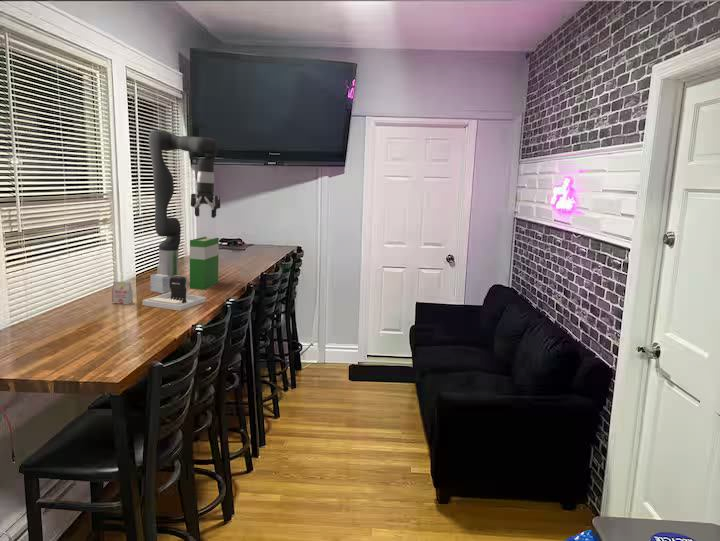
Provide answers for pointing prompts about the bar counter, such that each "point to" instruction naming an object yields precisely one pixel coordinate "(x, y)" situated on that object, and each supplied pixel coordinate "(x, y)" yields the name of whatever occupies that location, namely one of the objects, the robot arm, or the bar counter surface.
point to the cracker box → (167, 301)
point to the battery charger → (178, 288)
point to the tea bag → (122, 292)
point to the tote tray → (191, 301)
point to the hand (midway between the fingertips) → (205, 216)
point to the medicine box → (159, 283)
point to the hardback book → (203, 262)
